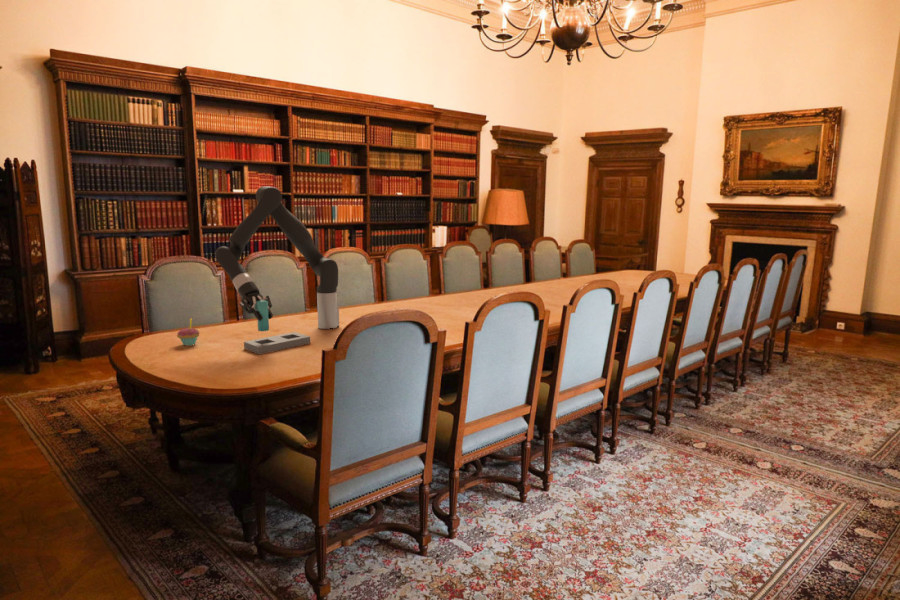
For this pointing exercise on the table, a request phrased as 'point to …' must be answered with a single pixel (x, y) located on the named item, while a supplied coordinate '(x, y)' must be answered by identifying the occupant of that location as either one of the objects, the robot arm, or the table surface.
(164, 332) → the table surface
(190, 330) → the cupcake
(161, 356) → the table surface
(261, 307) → the teal round-top peg
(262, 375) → the table surface
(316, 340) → the table surface
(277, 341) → the rack
